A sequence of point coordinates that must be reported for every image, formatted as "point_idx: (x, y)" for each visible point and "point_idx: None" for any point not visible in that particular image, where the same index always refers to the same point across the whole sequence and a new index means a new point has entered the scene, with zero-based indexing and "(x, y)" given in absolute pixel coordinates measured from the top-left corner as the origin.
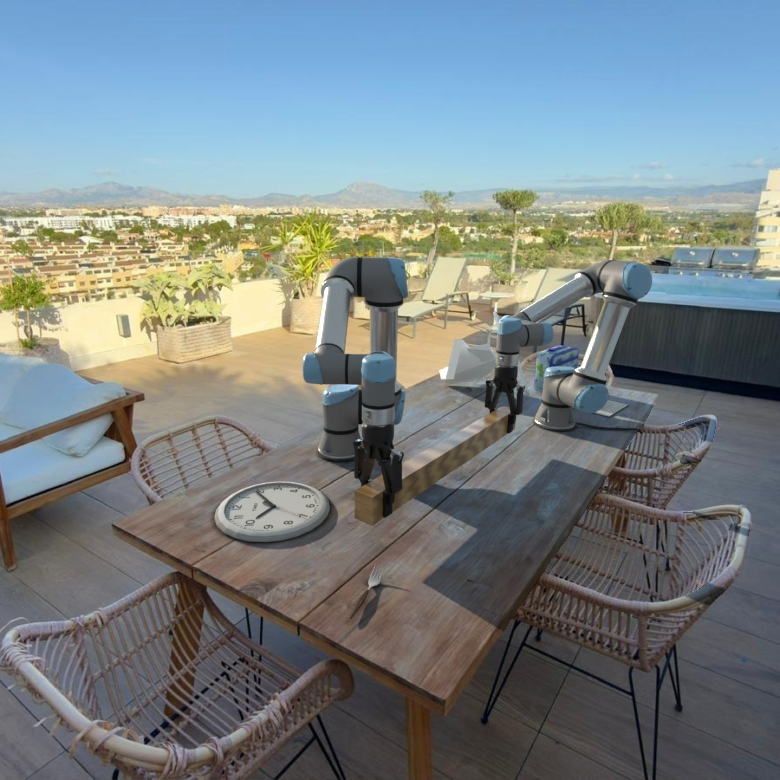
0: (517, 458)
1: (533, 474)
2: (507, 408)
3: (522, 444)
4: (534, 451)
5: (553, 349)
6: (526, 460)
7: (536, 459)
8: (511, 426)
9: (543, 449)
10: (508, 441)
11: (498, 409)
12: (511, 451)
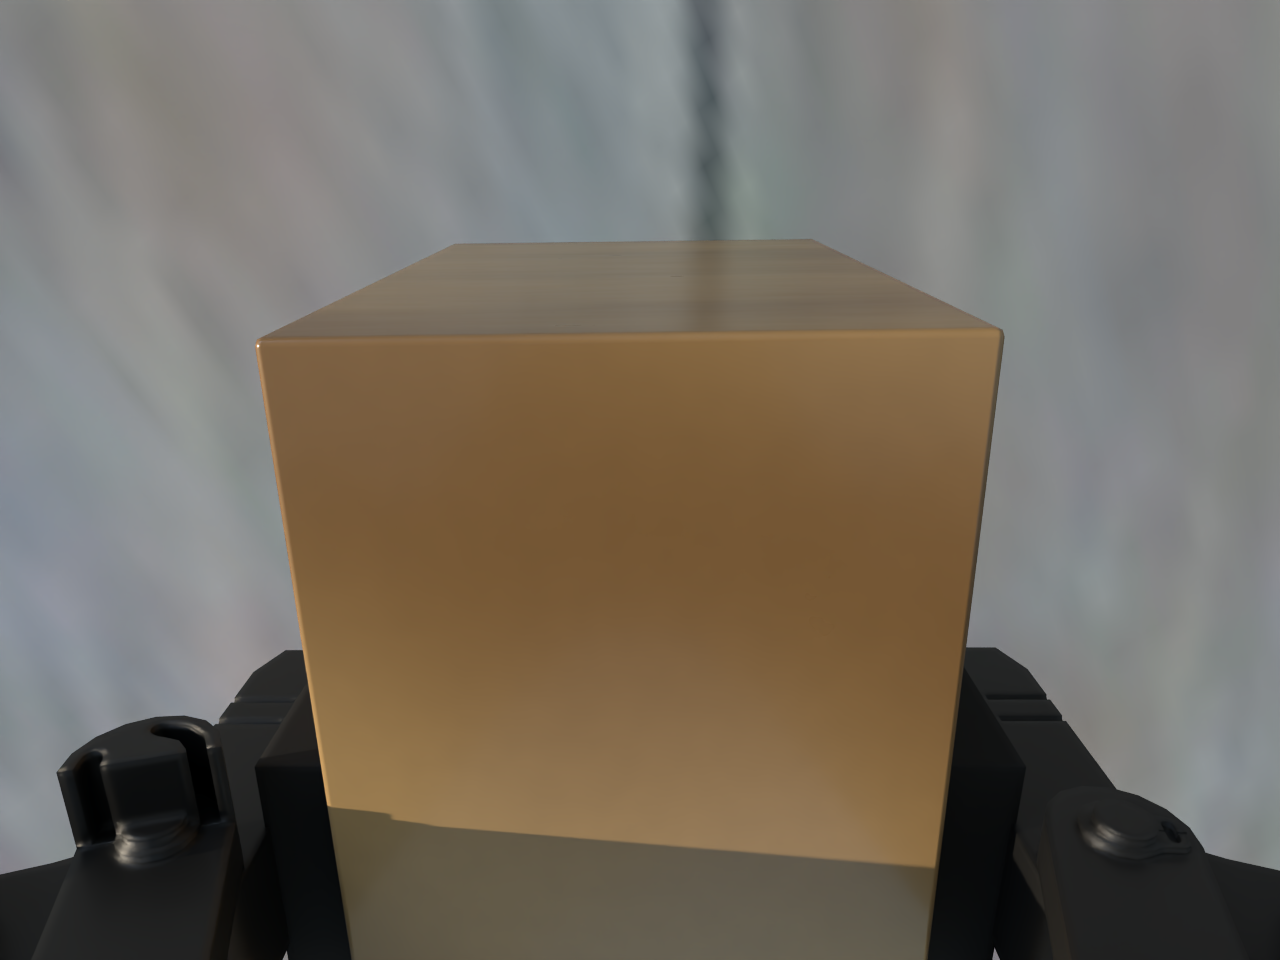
0: (982, 616)
1: (1267, 867)
2: (620, 527)
3: (879, 78)
4: (1136, 234)
5: None
6: (1106, 599)
7: (1223, 489)
8: None
9: (1257, 45)
10: (628, 115)
11: (399, 837)
12: None
